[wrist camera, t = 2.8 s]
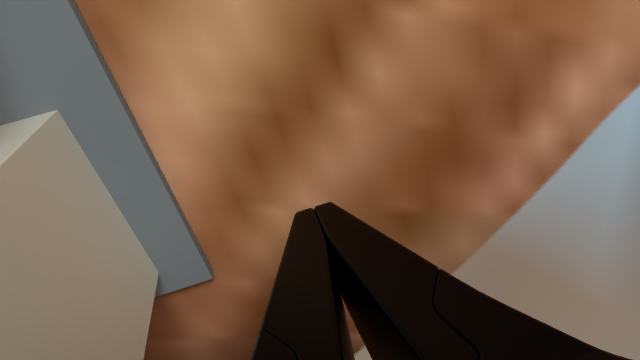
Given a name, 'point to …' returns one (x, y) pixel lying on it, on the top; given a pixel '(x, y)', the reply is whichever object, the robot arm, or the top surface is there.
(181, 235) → the slate mat
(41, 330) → the tile
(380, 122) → the top surface
